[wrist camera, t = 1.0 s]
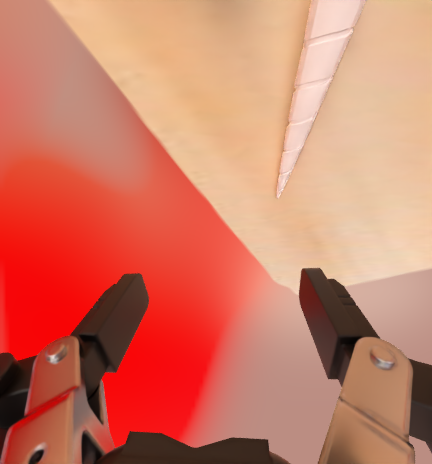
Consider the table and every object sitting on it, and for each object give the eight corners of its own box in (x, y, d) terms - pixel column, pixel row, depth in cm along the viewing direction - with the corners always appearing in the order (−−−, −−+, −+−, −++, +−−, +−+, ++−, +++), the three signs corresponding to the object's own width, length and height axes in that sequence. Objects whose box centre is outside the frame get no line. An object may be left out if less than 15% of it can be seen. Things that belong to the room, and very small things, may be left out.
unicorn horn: (254, 193, 35) (255, 209, 31) (314, -31, 19) (330, -51, 16) (282, 198, 35) (286, 214, 31) (365, -23, 19) (393, -42, 15)
